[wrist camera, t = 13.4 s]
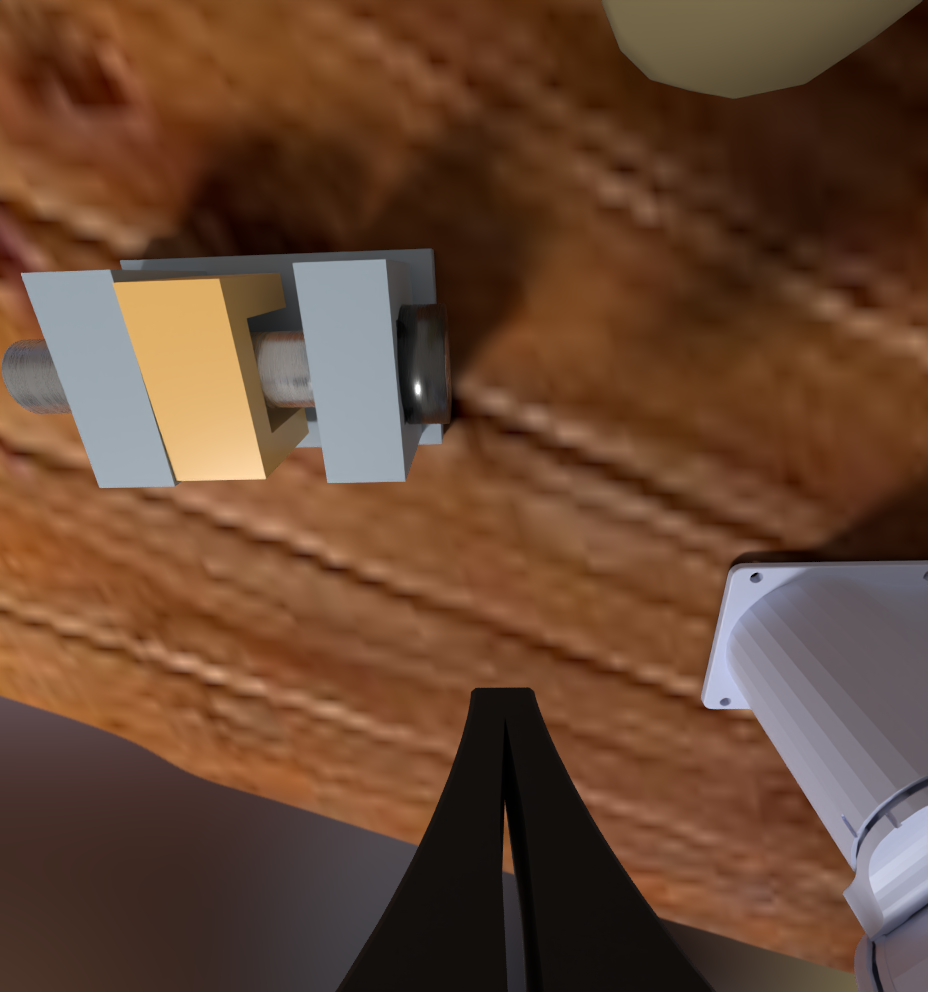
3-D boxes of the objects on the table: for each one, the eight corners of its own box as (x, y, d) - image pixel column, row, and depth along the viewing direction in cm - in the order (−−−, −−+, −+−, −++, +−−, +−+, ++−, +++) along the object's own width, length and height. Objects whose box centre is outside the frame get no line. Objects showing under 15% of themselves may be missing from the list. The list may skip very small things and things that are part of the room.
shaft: (447, 300, 15) (440, 306, 12) (452, 407, 17) (447, 437, 14) (59, 314, 16) (-43, 323, 13) (95, 417, 17) (11, 448, 14)
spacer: (280, 272, 15) (218, 278, 12) (308, 432, 17) (266, 479, 14) (197, 275, 15) (112, 282, 12) (237, 434, 18) (176, 481, 14)
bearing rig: (433, 249, 16) (414, 238, 11) (443, 435, 19) (431, 493, 14) (139, 261, 17) (-7, 255, 12) (189, 441, 19) (87, 500, 14)
